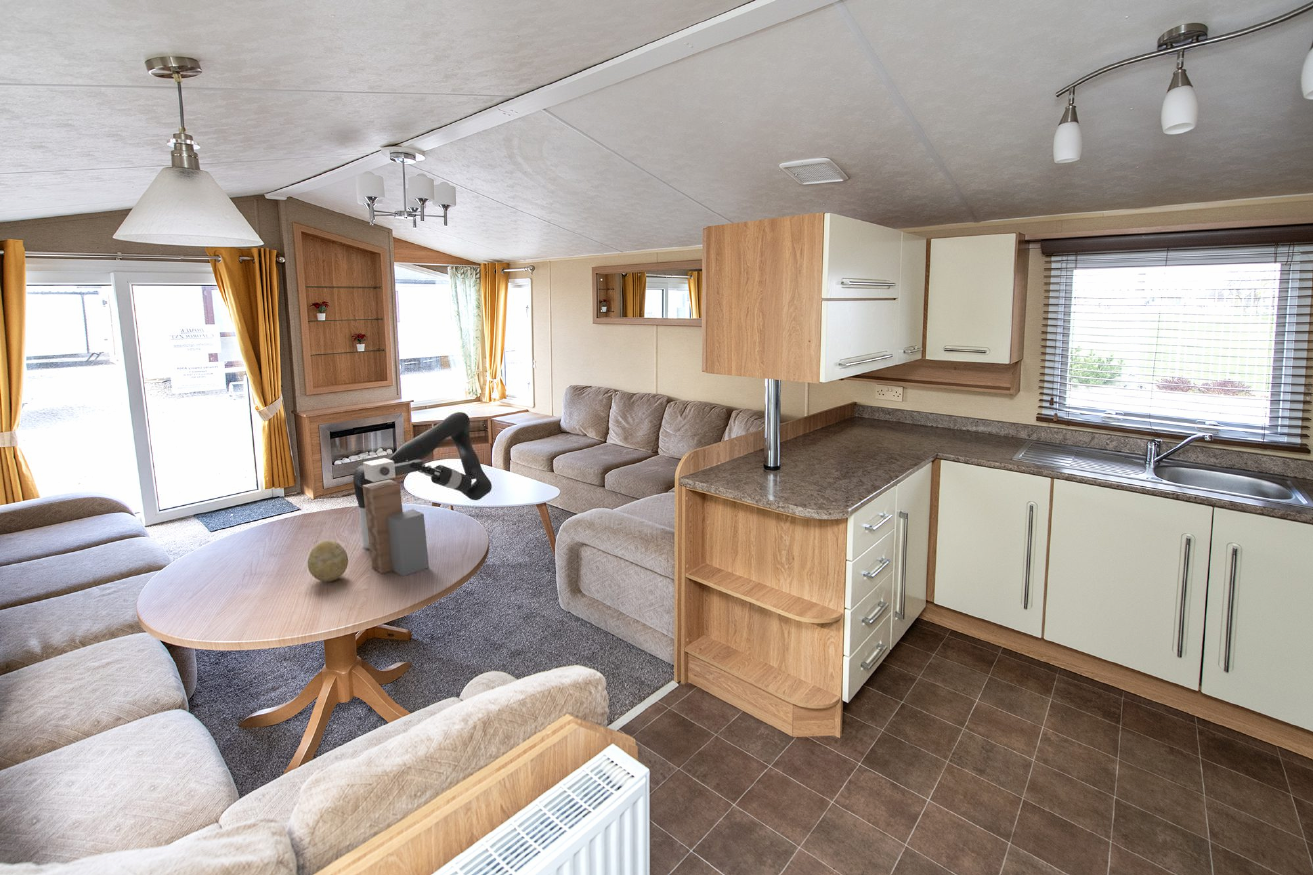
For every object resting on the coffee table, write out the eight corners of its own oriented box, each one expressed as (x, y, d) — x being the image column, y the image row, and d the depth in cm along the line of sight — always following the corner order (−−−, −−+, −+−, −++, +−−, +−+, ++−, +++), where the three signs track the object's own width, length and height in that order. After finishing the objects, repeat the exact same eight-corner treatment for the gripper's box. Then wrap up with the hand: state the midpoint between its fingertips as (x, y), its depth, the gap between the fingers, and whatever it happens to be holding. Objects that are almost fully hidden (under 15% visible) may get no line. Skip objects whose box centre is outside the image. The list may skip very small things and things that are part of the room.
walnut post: (372, 567, 234) (362, 485, 227) (398, 559, 241) (389, 479, 235) (382, 573, 229) (372, 489, 222) (408, 565, 236) (399, 483, 229)
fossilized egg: (357, 576, 227) (353, 537, 223) (324, 590, 216) (318, 550, 213) (336, 569, 233) (331, 531, 230) (302, 582, 222) (297, 543, 219)
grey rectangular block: (392, 570, 232) (386, 516, 227) (418, 561, 239) (412, 509, 235) (403, 576, 227) (397, 521, 222) (428, 567, 234) (423, 513, 229)
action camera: (364, 478, 227) (362, 462, 226) (416, 467, 242) (415, 452, 241) (375, 482, 222) (373, 466, 220) (427, 471, 236) (426, 455, 235)
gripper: (440, 465, 253) (403, 451, 240) (459, 471, 244) (421, 456, 231) (433, 482, 252) (395, 469, 239) (452, 489, 242) (413, 476, 230)
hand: (408, 463), depth 235 cm, fingers closed on action camera, 3 cm apart
